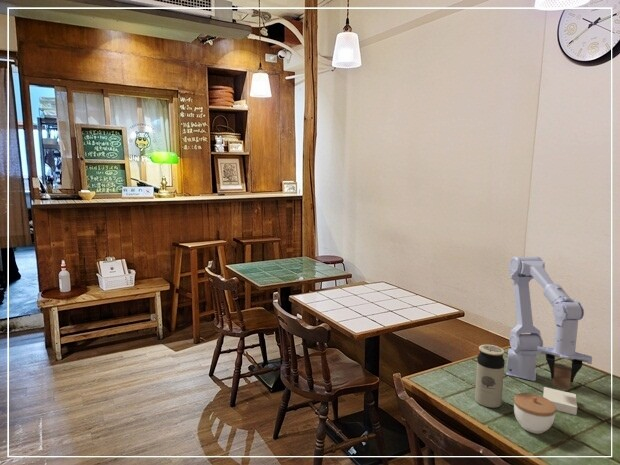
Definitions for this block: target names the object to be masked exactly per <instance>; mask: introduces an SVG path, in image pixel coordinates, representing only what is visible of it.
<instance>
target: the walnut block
mask: <svg viewBox="0 0 620 465" xmlns="http://www.w3.org/2000/svg"><path fill="white" fill-rule="evenodd" d="M571 368H572V365H568V364H564V363H558V362H555V364H554V379H552V386H553V387H558V388H562V389H566V390H570V388H571V383H570V381H571Z"/></svg>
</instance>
